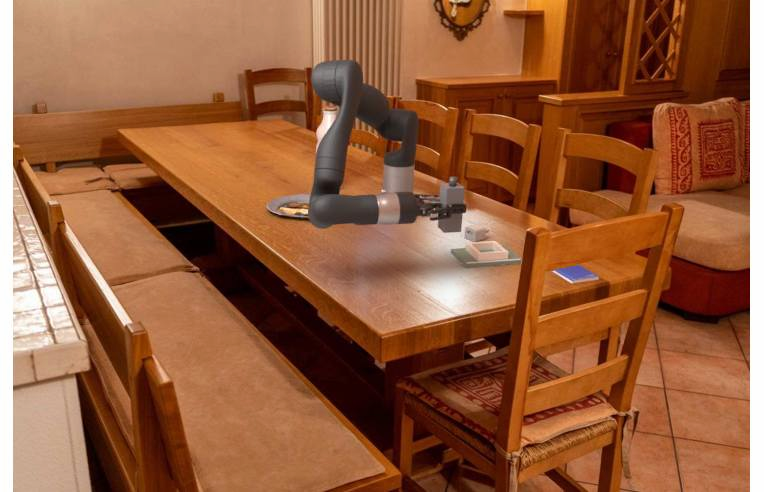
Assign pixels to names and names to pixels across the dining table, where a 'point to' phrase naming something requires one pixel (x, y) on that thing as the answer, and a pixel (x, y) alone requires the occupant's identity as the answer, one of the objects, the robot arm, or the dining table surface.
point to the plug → (451, 195)
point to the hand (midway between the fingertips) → (461, 205)
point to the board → (485, 254)
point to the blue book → (576, 274)
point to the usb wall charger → (475, 233)
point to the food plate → (290, 205)
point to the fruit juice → (326, 123)
